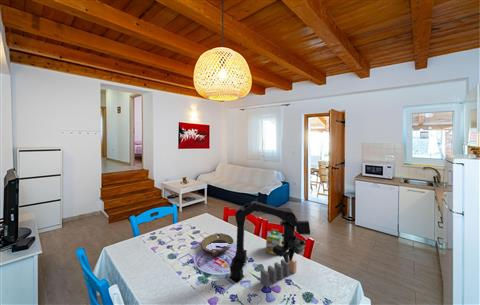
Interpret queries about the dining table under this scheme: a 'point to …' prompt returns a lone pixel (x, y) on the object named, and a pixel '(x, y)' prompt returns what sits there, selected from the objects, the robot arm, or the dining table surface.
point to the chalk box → (273, 240)
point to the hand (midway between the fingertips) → (288, 261)
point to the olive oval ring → (214, 239)
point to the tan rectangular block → (292, 265)
